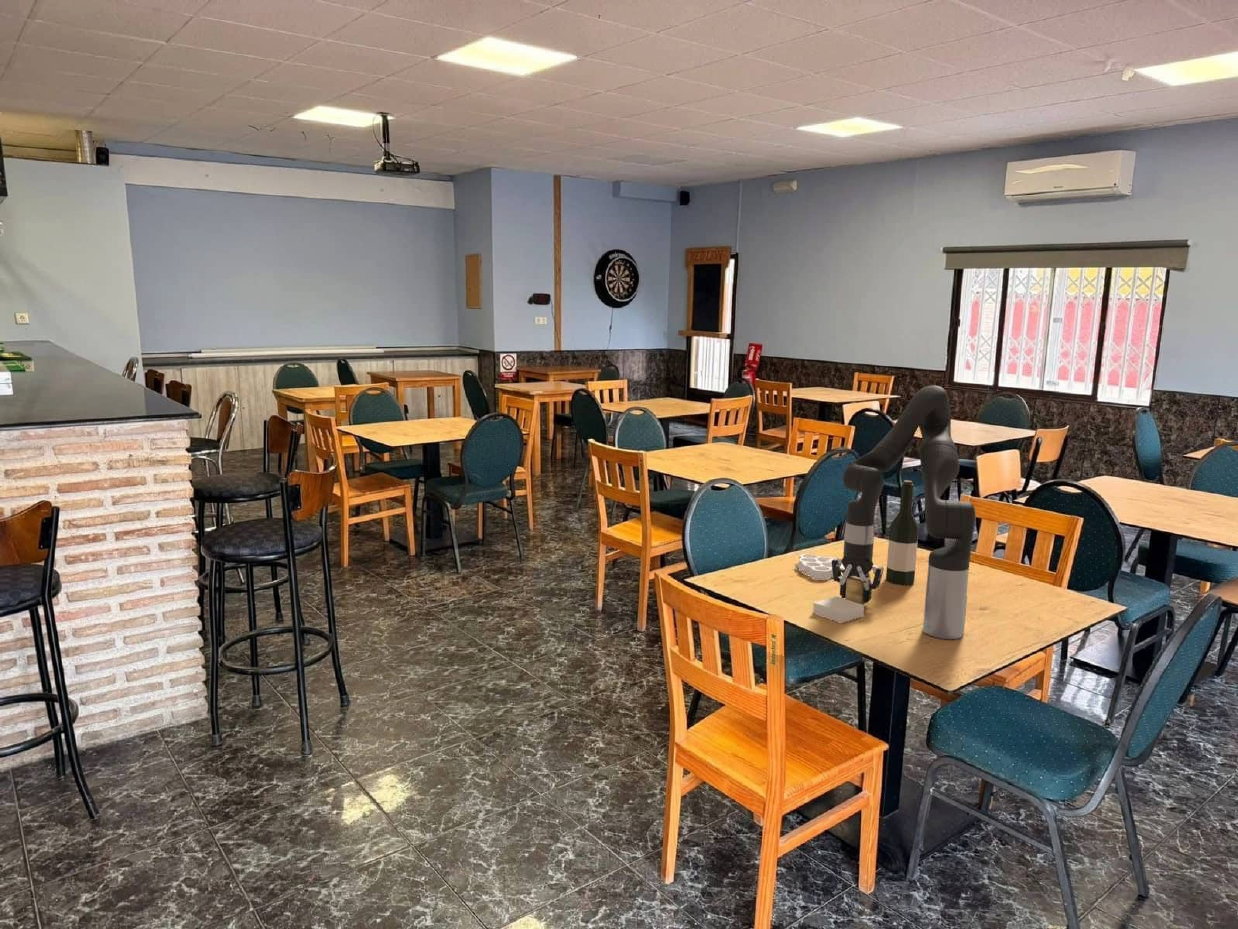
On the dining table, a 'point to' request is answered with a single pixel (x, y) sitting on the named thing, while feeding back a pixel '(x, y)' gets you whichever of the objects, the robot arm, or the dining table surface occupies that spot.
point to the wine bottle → (903, 541)
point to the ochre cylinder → (855, 590)
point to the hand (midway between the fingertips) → (854, 599)
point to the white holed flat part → (817, 566)
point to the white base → (838, 609)
